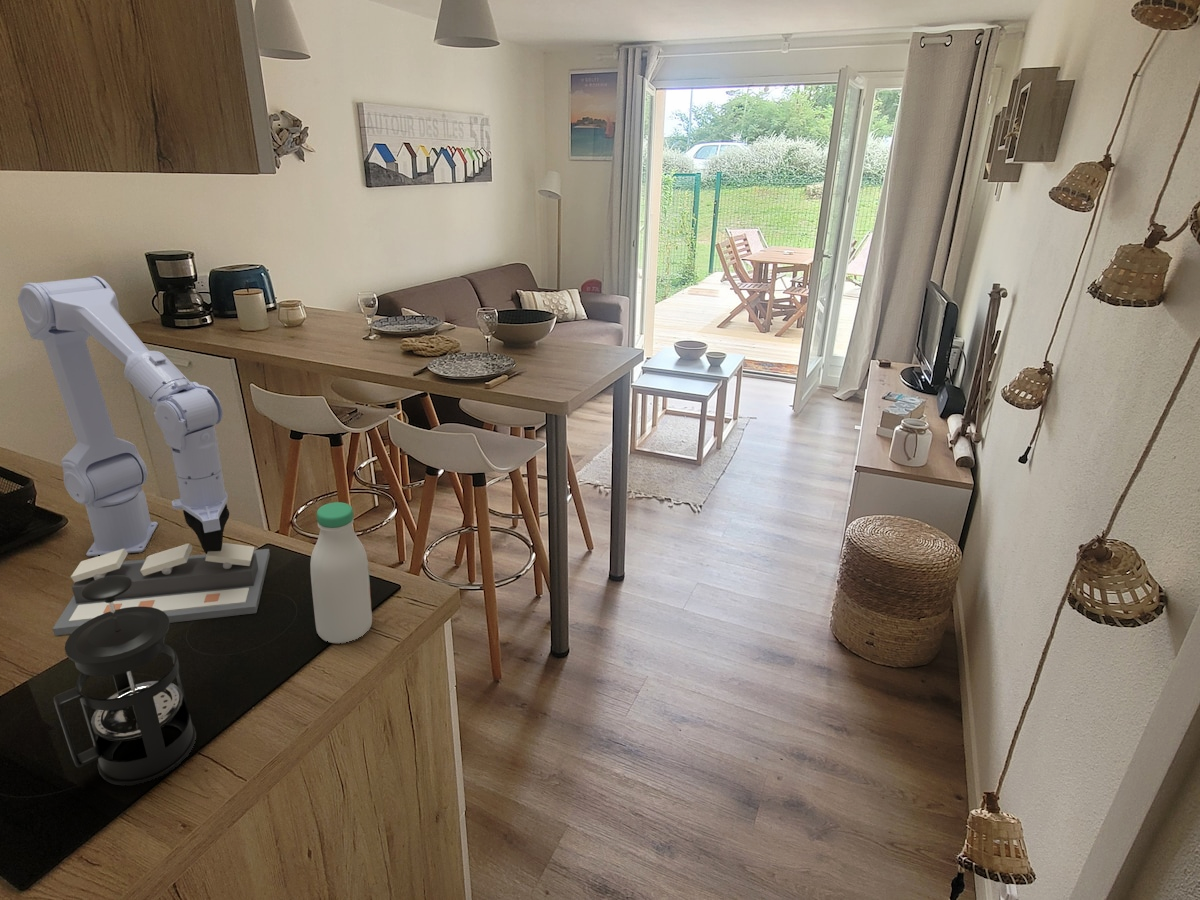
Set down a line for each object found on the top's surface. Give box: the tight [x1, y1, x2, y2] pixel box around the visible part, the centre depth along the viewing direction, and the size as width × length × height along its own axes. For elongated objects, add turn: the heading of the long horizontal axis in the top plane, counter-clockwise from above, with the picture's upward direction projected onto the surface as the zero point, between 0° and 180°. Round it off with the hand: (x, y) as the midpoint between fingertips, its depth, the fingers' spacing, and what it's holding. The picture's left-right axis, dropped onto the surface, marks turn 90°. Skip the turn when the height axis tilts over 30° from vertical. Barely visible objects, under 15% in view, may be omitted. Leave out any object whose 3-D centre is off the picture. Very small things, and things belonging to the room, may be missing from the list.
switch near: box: [70, 548, 129, 583], centre depth 97 cm, size 4×6×2 cm, turn 108°
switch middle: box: [140, 542, 193, 576], centre depth 100 cm, size 4×6×2 cm, turn 108°
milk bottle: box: [309, 501, 373, 644], centre depth 93 cm, size 8×8×20 cm
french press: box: [53, 575, 197, 787], centre depth 71 cm, size 12×9×23 cm
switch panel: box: [52, 548, 271, 637], centre depth 101 cm, size 16×25×4 cm, turn 108°
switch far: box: [205, 542, 255, 569], centre depth 102 cm, size 4×6×2 cm, turn 108°
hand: (213, 550), depth 101 cm, fingers closed, pressing on switch far
